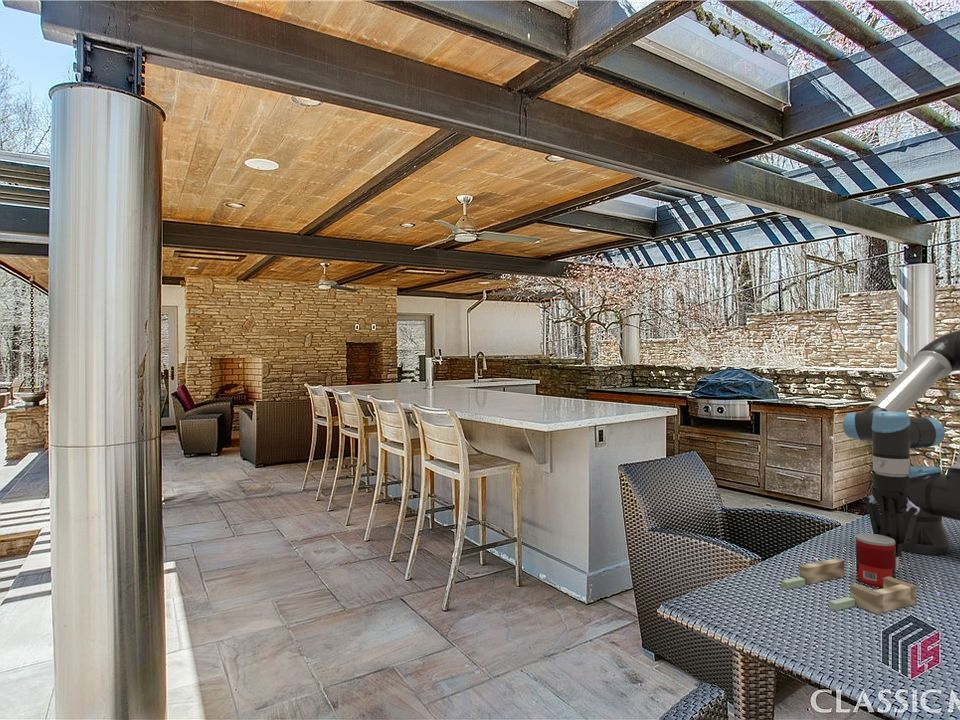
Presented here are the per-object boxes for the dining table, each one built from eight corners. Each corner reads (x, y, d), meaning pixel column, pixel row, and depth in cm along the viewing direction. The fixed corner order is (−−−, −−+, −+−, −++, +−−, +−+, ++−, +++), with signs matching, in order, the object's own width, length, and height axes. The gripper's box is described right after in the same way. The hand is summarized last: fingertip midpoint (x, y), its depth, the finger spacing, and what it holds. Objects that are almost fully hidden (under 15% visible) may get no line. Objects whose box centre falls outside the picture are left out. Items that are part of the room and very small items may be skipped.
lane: (837, 573, 144) (836, 558, 144) (916, 603, 126) (916, 586, 126) (799, 581, 139) (799, 565, 139) (876, 614, 122) (876, 595, 122)
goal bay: (799, 582, 139) (799, 576, 139) (855, 606, 126) (854, 599, 126) (781, 586, 137) (781, 580, 137) (835, 610, 124) (835, 603, 124)
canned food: (902, 590, 134) (902, 543, 134) (865, 587, 135) (864, 542, 135) (886, 577, 141) (885, 533, 141) (851, 575, 143) (850, 532, 143)
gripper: (855, 470, 145) (855, 561, 145) (908, 480, 133) (909, 579, 133) (875, 467, 148) (876, 557, 148) (929, 477, 135) (930, 575, 135)
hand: (891, 568), depth 140 cm, fingers closed
